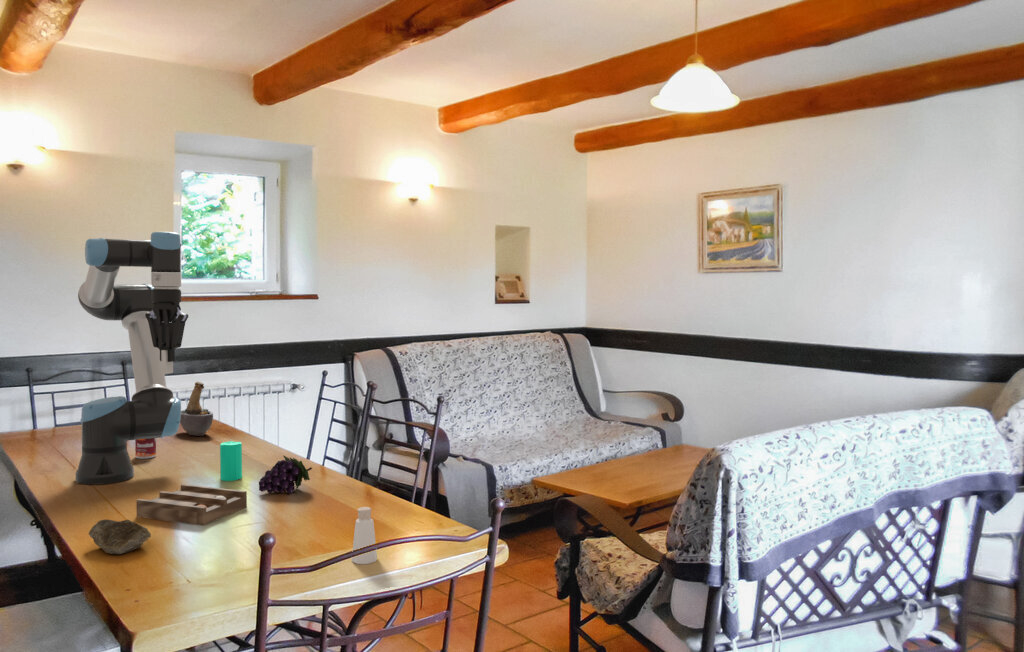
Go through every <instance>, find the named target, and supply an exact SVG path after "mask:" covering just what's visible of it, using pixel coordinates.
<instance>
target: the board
mask: <svg viewBox="0 0 1024 652" xmlns="http://www.w3.org/2000/svg"><path fill="white" fill-rule="evenodd" d="M158 494H159V495H158V497H155V498H152V499H145V498H138V499H136V500H135V502H136V505H135V506H136V517H137V518H145V519H151V520H159V521H167V522H172V523H181V524H189V525H196V526H203V527H204V526H206V525H208V524H211V523H213V522H216V521H218V520H220V519H222V518H224V517H227V516H230V515H232V514H235V513H237V512H239V511H242V510H243V509H246V508H247V507H248V499H247V498H248V497H247V491H246V490H239V489H230V488H222V487H220V488H219V487H211V486H203V485H194V484H186V483H185V484H184V483H183V484H180V489H179V490H175V491H172V492H171V491H164V490H162V491H159V492H158ZM217 496H224V497H225V498H226V499H224V498H216V497H217ZM197 505H205V506H206V507H207V508H206V507H202V506H197Z"/></svg>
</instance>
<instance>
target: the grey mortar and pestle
mask: <svg viewBox="0 0 1024 652" xmlns="http://www.w3.org/2000/svg"><path fill="white" fill-rule="evenodd" d="M204 385H205V383H204V382H201V381H196V382H195V383H194V387H193V389H192V392H191V394H190V397H189V400H188V403H187V406H186V408H185V409H184V410H183V409H181V417H180V426H181V427H182V429H183V430H184V431H185V433H187V434H188V435H190V436H194V437H198V436H199V437H200V436H201V437H203V436H205V435H206V434H207V432H208V431H209V430H210V428H211V426H212V424H213V420H214V413H213V412H212V411H210V410H209V409H208V408H202V406H201V404H200V403H201V402H200V401H201V395H202V391H203V389H205V386H204Z"/></svg>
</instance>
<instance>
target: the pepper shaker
mask: <svg viewBox="0 0 1024 652" xmlns="http://www.w3.org/2000/svg"><path fill="white" fill-rule="evenodd" d="M371 516H372V508H371V507H369V506H361V507H358V508H357V518H356V520H355V524H354V535H353V542H352V551H353V550H356V549H360V548H363V547H366V546H369V545H372V544H375V543H376V533H375V523H374V519H373V518H371ZM376 544H377V543H376ZM377 559H378V552H377V549H376V550H375V551H372V552H369V553H366V554H363V555H360V556H357V557H354V558H352V557H351V562H352V563H355V564H357V565H369V564H373V563H376V561H377Z"/></svg>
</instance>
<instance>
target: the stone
mask: <svg viewBox="0 0 1024 652" xmlns="http://www.w3.org/2000/svg"><path fill="white" fill-rule="evenodd" d="M88 535H89V537H90V538H91V539H93V542H94V544H95V545H96V546H98V547H99V548H101V549H102V550H103V551H104V552H105V553H106V554H109V553H110V555H122V554H127V553H130V552H131V551H134V550H136V549H139V548H141V547H142V546H143V544H144V543H145V542H147V540H149V538H151V537H152V536H151V535H152V533H151V532H150V531H149V530H148V528H146V527H145V526H143V525H142V524H138V523H136V522H135V521H133V520H132V521H131V520H129V519H124V520H120V521H117V520H111V519H101V520H99V521H97V522H96V523H95V524H94V525H93V526H92V527H91V529H90V530H89V532H88Z"/></svg>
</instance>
